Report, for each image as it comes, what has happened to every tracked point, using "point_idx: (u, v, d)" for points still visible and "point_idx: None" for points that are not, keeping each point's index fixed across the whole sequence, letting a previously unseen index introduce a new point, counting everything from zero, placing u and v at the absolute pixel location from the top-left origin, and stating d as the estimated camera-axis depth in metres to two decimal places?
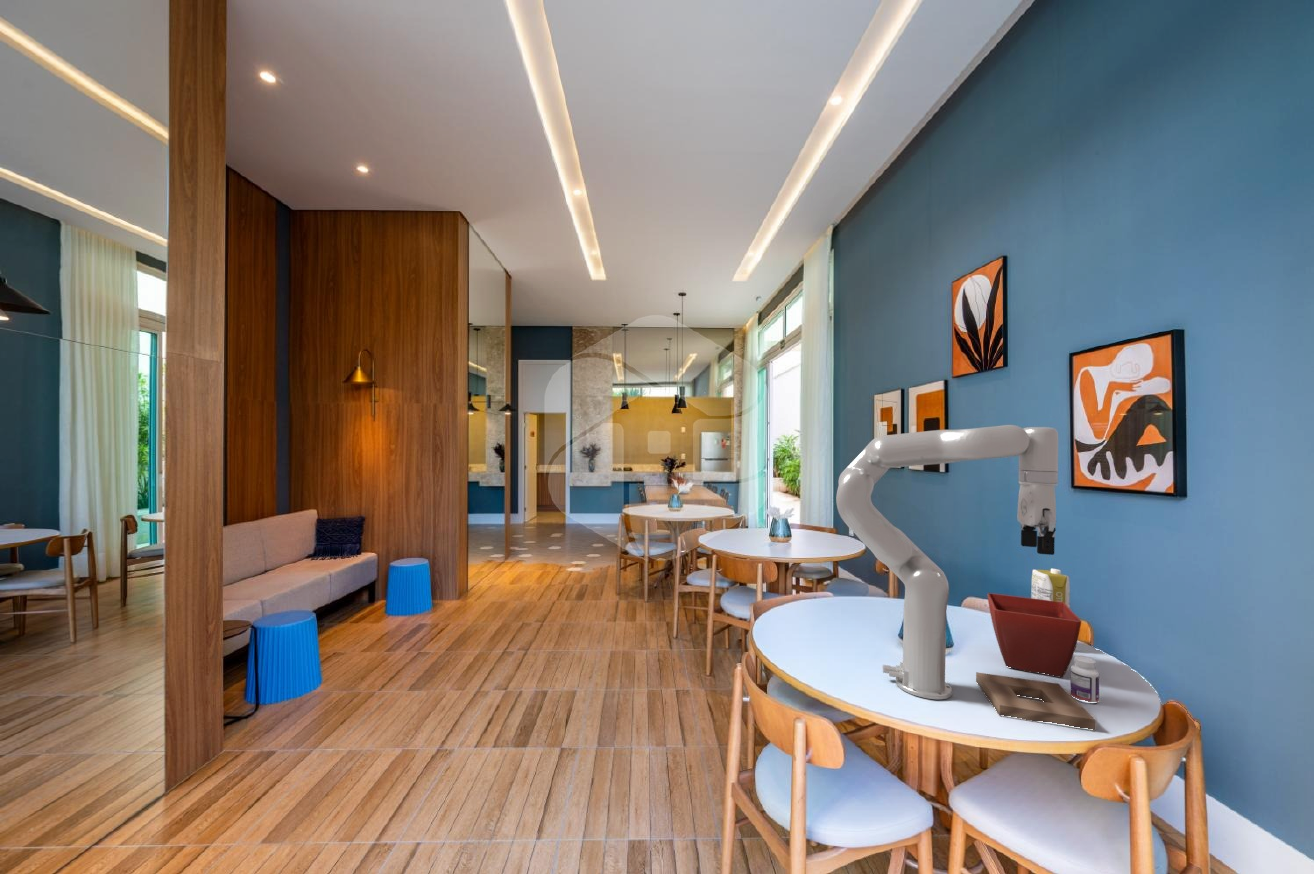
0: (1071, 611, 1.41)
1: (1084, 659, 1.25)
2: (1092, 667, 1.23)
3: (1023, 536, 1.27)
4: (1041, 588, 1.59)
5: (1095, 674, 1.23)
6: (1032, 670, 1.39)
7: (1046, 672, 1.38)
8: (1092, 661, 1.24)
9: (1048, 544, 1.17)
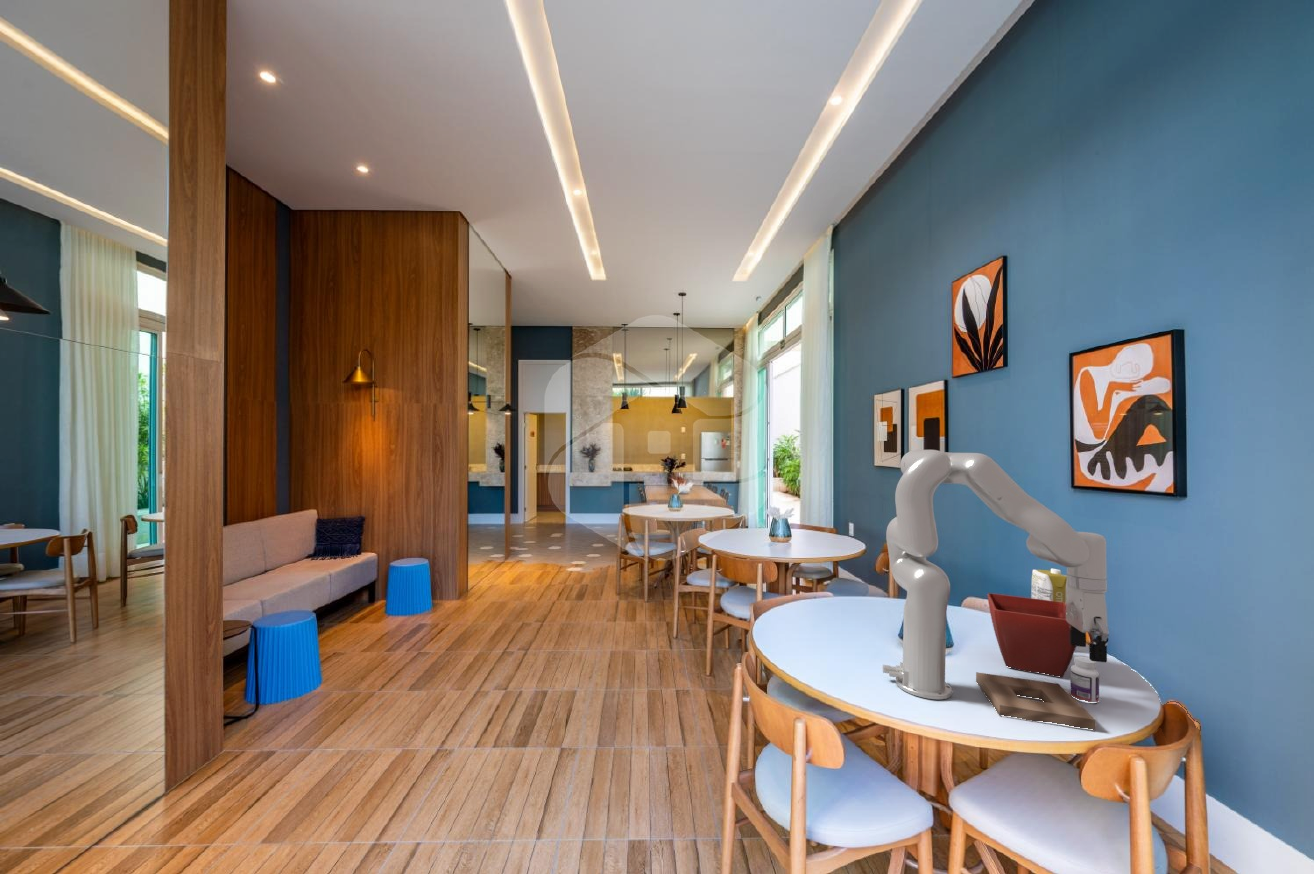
0: None
1: (1084, 659, 1.25)
2: (1092, 667, 1.23)
3: (1072, 636, 1.30)
4: (1041, 588, 1.59)
5: (1095, 674, 1.23)
6: (1032, 670, 1.39)
7: (1046, 672, 1.38)
8: (1092, 661, 1.24)
9: (1101, 652, 1.20)
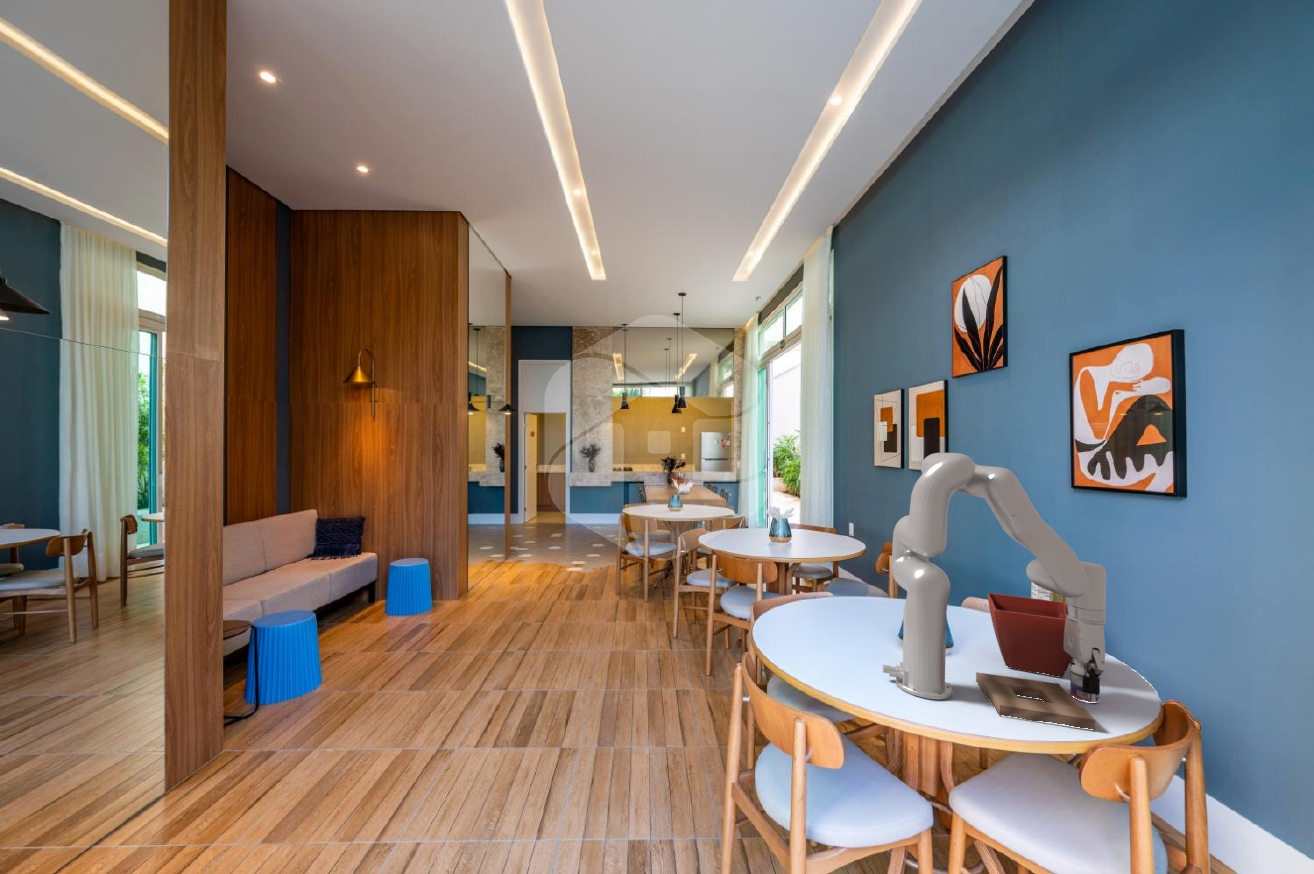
0: None
1: None
2: (1092, 667, 1.23)
3: None
4: (1041, 588, 1.59)
5: None
6: (1032, 670, 1.39)
7: (1046, 672, 1.38)
8: (1092, 661, 1.24)
9: (1094, 685, 1.21)
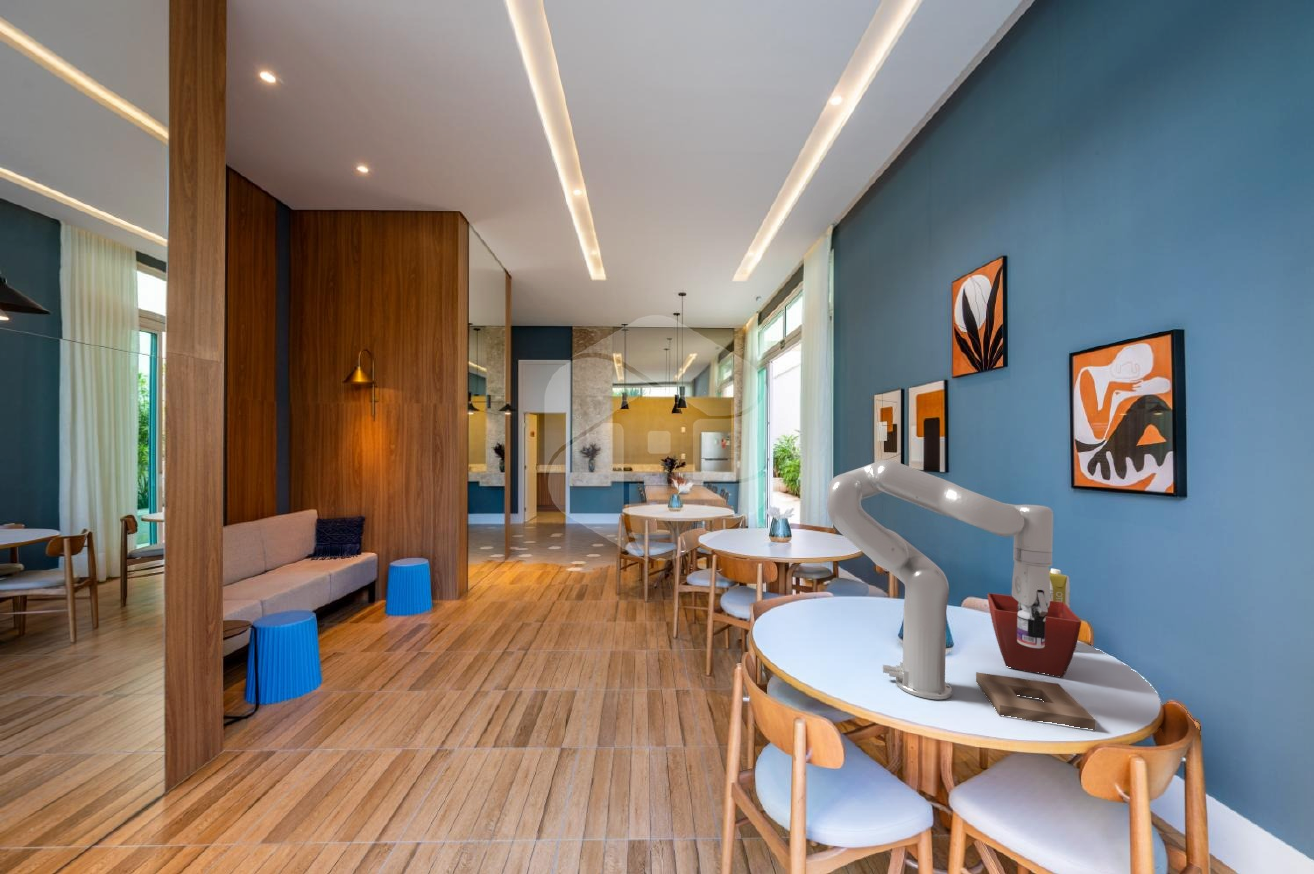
0: (1071, 611, 1.41)
1: None
2: None
3: None
4: None
5: None
6: (1032, 670, 1.39)
7: (1046, 672, 1.38)
8: None
9: (1038, 628, 1.18)
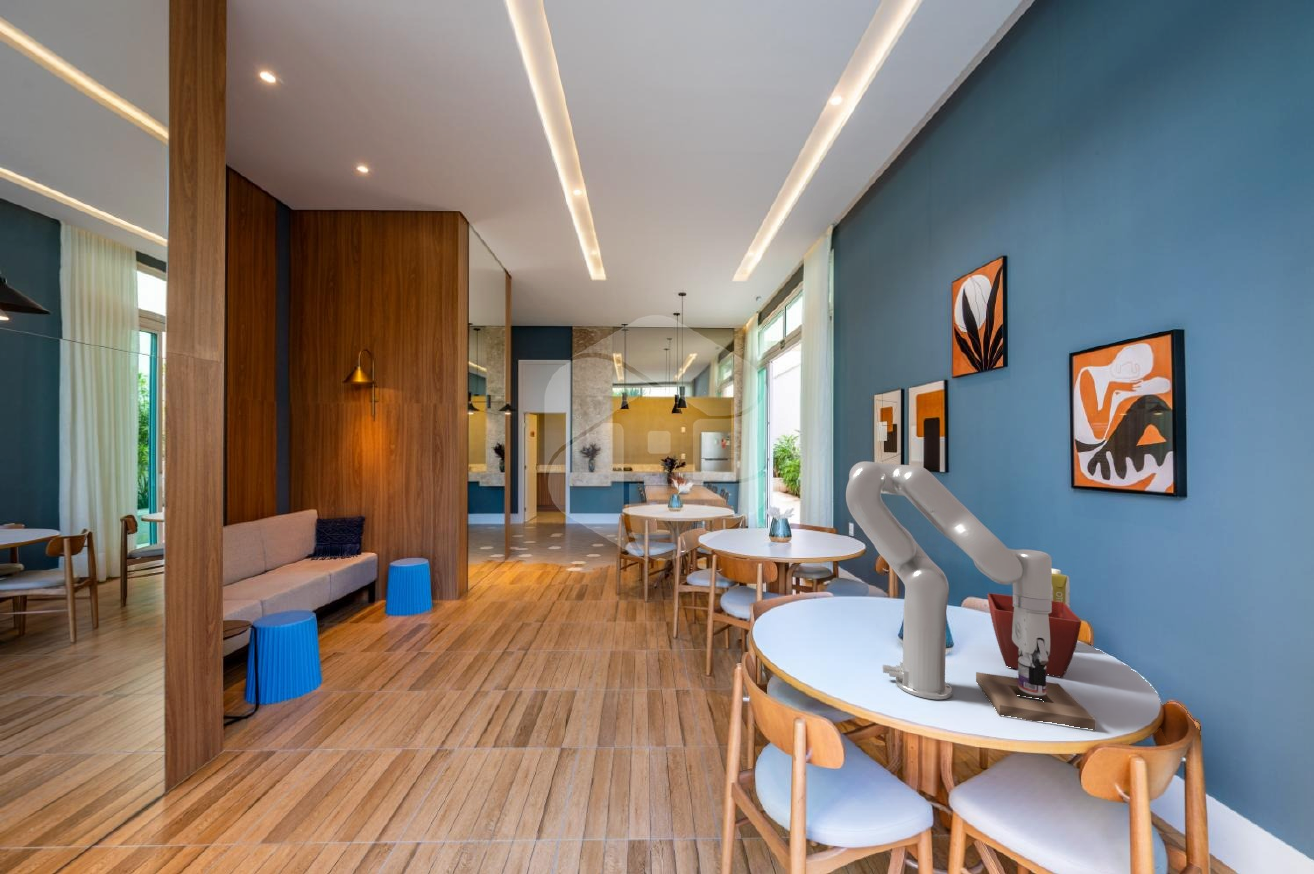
0: (1071, 611, 1.41)
1: None
2: None
3: None
4: None
5: None
6: None
7: (1046, 672, 1.38)
8: None
9: (1039, 676, 1.18)
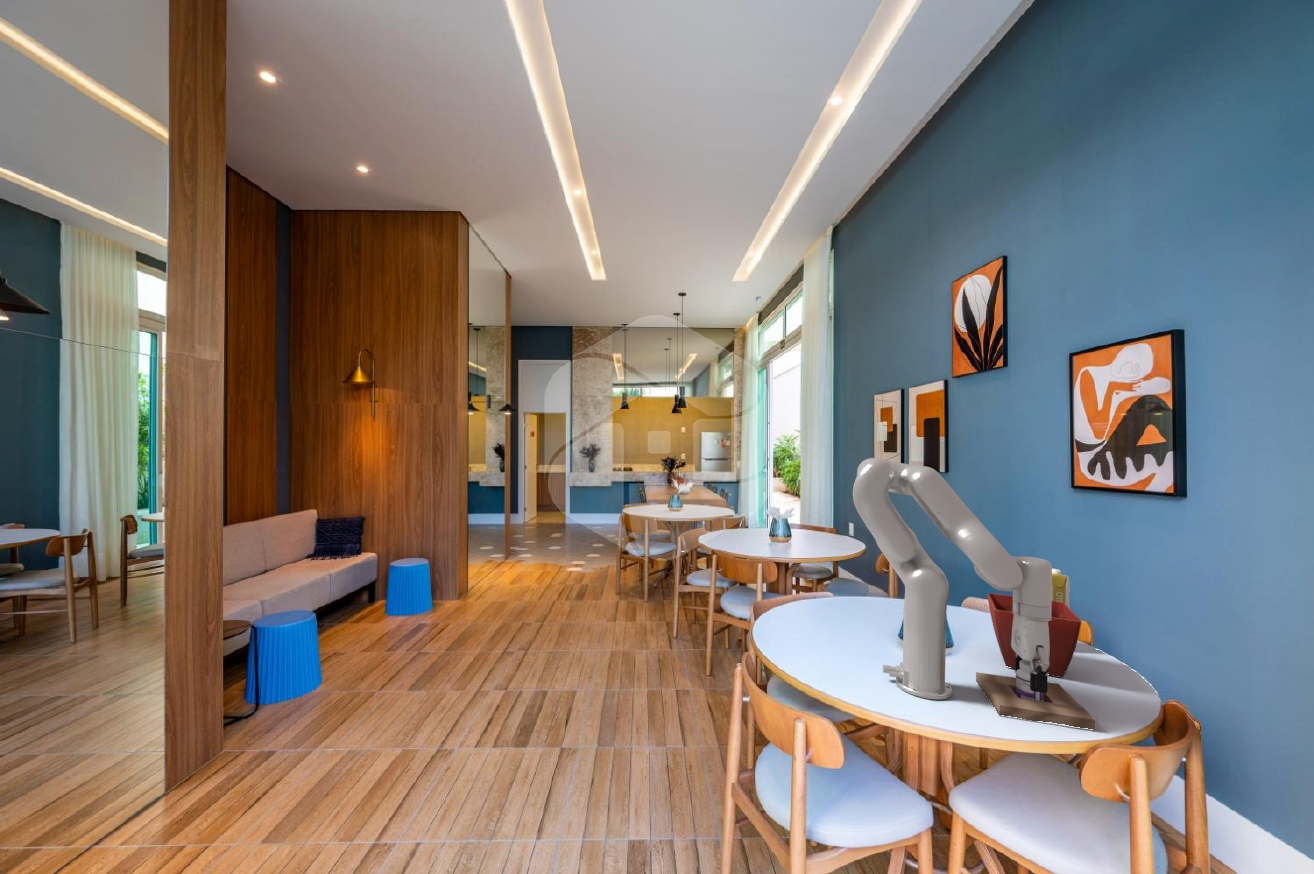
0: (1071, 611, 1.41)
1: (1029, 663, 1.22)
2: None
3: (1017, 664, 1.26)
4: None
5: None
6: None
7: None
8: (1037, 665, 1.21)
9: (1041, 683, 1.17)
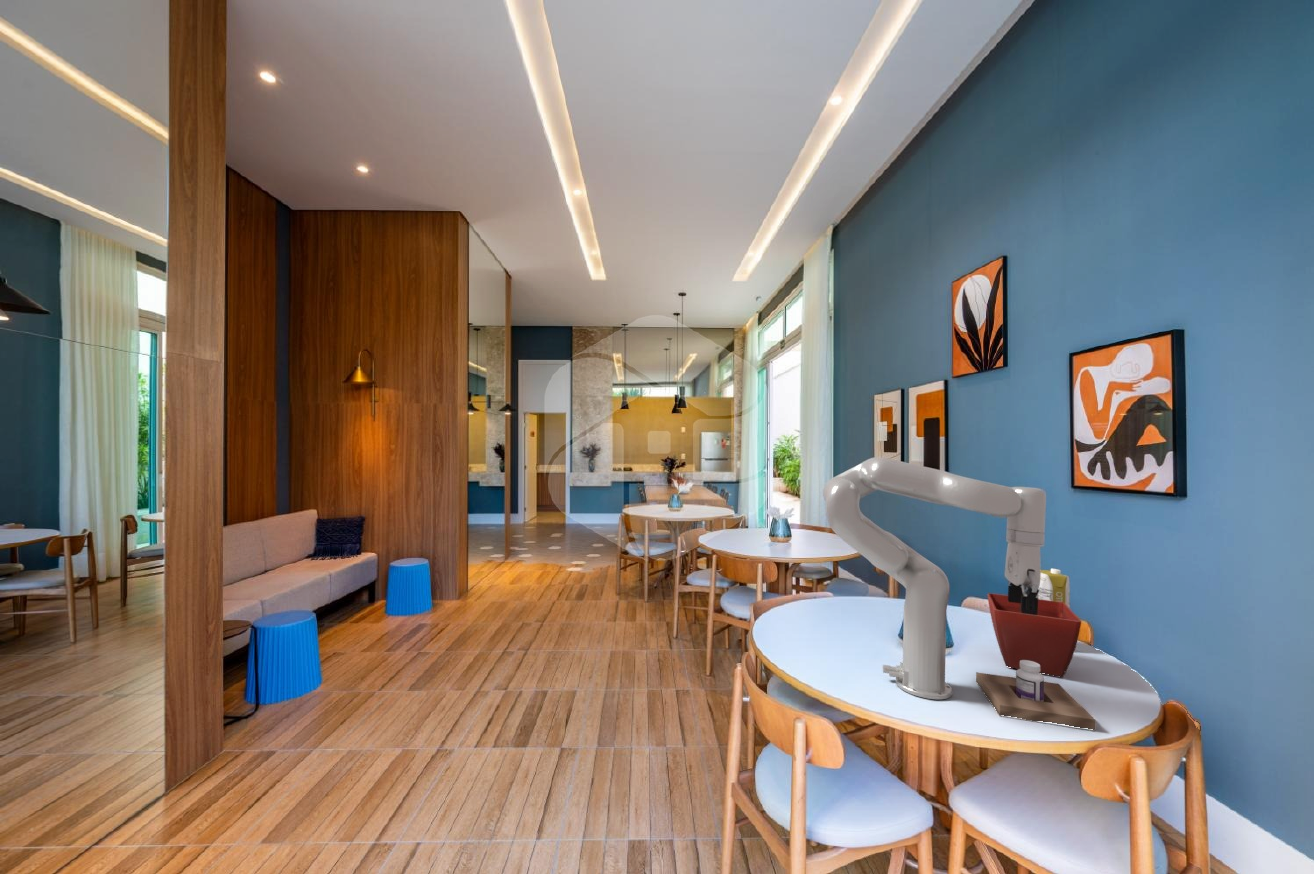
0: (1071, 611, 1.41)
1: (1030, 663, 1.22)
2: (1036, 671, 1.20)
3: (1010, 592, 1.29)
4: (1041, 588, 1.59)
5: (1039, 678, 1.20)
6: None
7: (1046, 672, 1.38)
8: (1037, 665, 1.21)
9: (1031, 605, 1.19)
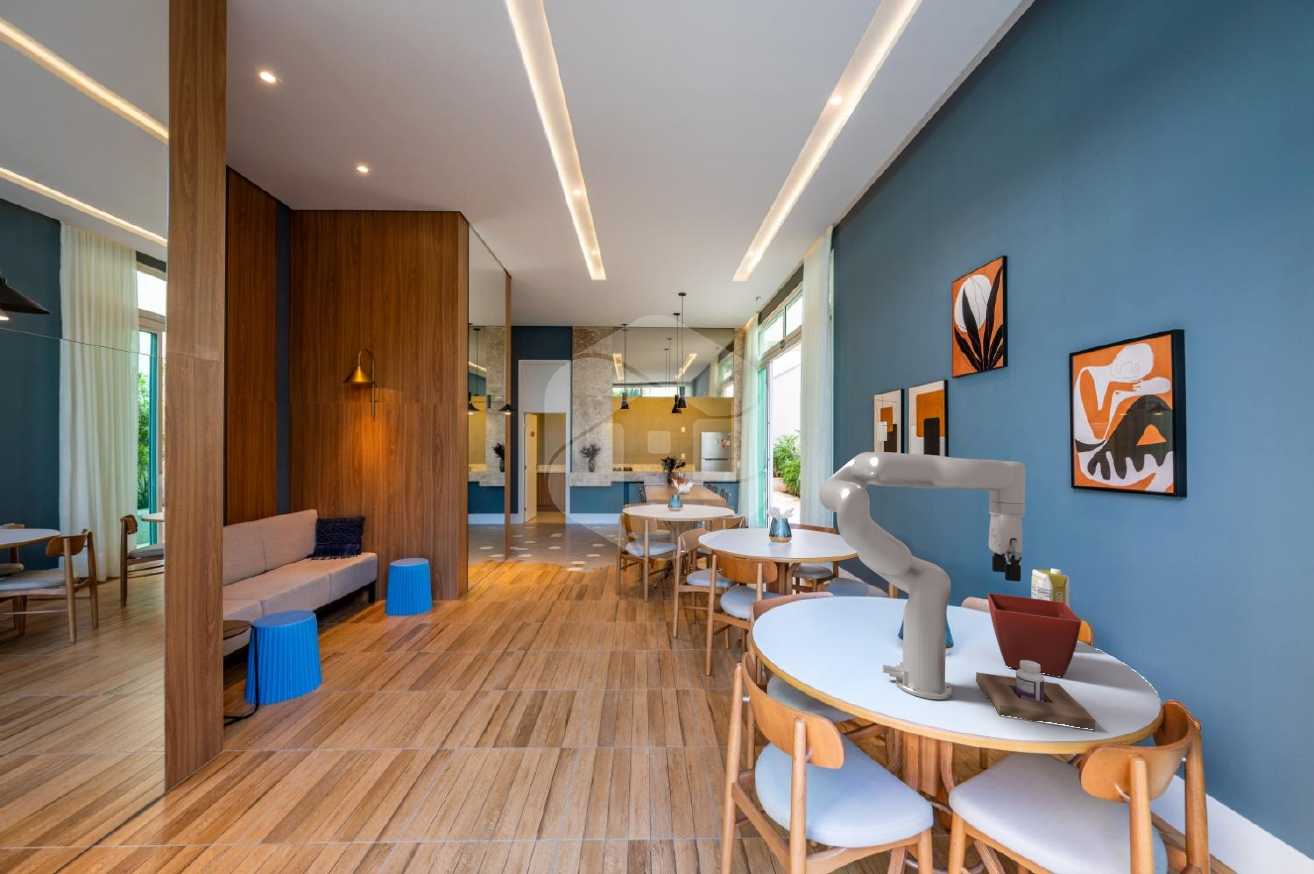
0: (1071, 611, 1.41)
1: (1030, 663, 1.22)
2: (1037, 671, 1.20)
3: (994, 562, 1.35)
4: (1041, 588, 1.59)
5: (1039, 678, 1.19)
6: None
7: (1046, 672, 1.38)
8: (1037, 665, 1.21)
9: (1015, 571, 1.25)
